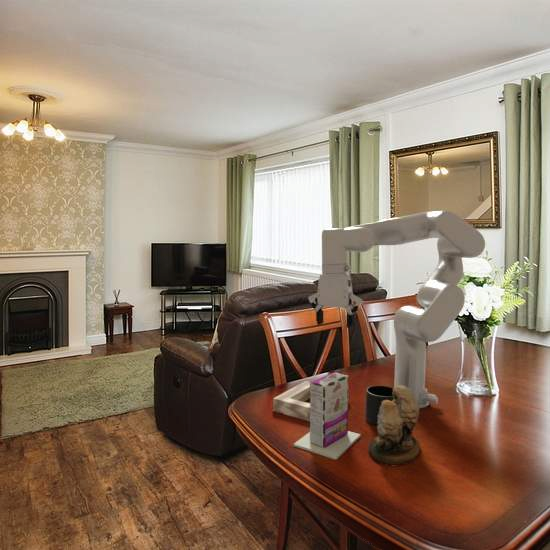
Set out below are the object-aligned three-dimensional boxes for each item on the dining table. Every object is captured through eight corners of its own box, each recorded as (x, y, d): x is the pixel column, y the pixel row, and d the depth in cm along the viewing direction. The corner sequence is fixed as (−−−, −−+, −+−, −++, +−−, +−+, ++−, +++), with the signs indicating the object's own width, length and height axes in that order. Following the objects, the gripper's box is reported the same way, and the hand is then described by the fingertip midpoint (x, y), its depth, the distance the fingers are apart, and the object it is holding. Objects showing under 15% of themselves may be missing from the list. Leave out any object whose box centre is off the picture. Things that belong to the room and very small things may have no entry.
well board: (348, 402, 143) (348, 390, 142) (319, 423, 126) (319, 410, 126) (305, 391, 152) (305, 380, 151) (273, 410, 135) (273, 398, 135)
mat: (360, 436, 119) (360, 434, 119) (335, 459, 106) (335, 457, 106) (321, 425, 125) (321, 423, 125) (293, 446, 113) (293, 443, 113)
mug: (404, 415, 133) (405, 386, 132) (392, 430, 122) (393, 399, 122) (374, 408, 138) (375, 380, 137) (360, 422, 127) (361, 392, 127)
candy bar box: (333, 428, 122) (334, 371, 120) (348, 434, 118) (349, 375, 117) (308, 442, 114) (309, 381, 112) (323, 449, 110) (325, 385, 109)
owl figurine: (384, 431, 123) (386, 371, 121) (427, 442, 116) (430, 379, 115) (359, 457, 107) (362, 390, 106) (407, 472, 101) (411, 401, 100)
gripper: (366, 269, 130) (366, 325, 132) (314, 267, 139) (314, 320, 141) (357, 271, 124) (357, 331, 126) (303, 269, 133) (303, 325, 135)
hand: (334, 325), depth 133 cm, fingers open, 9 cm apart
